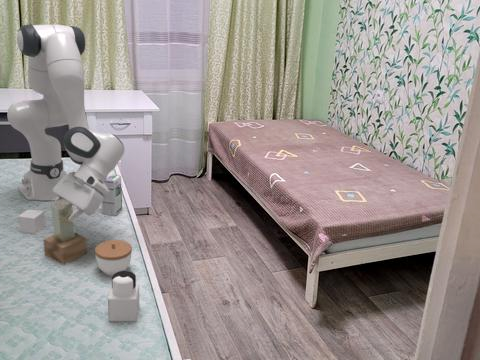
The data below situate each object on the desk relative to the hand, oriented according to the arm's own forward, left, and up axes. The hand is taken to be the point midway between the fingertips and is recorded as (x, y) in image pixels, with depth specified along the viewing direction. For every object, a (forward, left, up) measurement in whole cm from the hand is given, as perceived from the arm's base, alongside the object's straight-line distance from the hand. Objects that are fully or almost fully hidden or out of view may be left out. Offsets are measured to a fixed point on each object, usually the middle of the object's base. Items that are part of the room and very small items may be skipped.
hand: (61, 215), depth 152 cm
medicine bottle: (+38, -3, -14) cm, 41 cm away
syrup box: (-18, +30, -14) cm, 37 cm away
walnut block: (0, +1, -14) cm, 14 cm away
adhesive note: (-23, +1, -14) cm, 27 cm away
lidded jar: (+18, +7, -14) cm, 24 cm away
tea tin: (0, +1, -8) cm, 8 cm away
